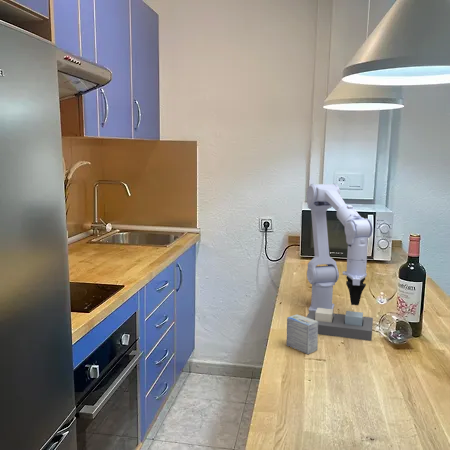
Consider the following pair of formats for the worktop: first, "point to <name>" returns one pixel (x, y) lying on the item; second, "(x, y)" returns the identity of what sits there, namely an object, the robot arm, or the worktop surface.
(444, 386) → the worktop surface
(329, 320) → the cream key
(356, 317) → the blue key
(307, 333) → the medicine box
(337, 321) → the grey flat rectangular block
